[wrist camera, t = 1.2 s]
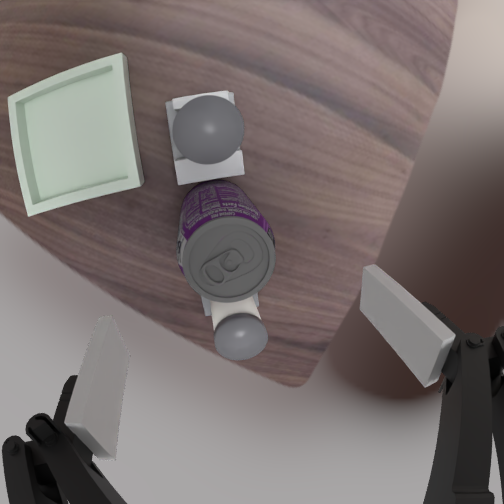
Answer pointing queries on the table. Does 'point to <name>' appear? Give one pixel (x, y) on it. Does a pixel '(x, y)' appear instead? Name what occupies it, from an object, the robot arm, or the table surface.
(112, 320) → the robot arm
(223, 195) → the beverage can
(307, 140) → the table surface
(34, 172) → the tray
